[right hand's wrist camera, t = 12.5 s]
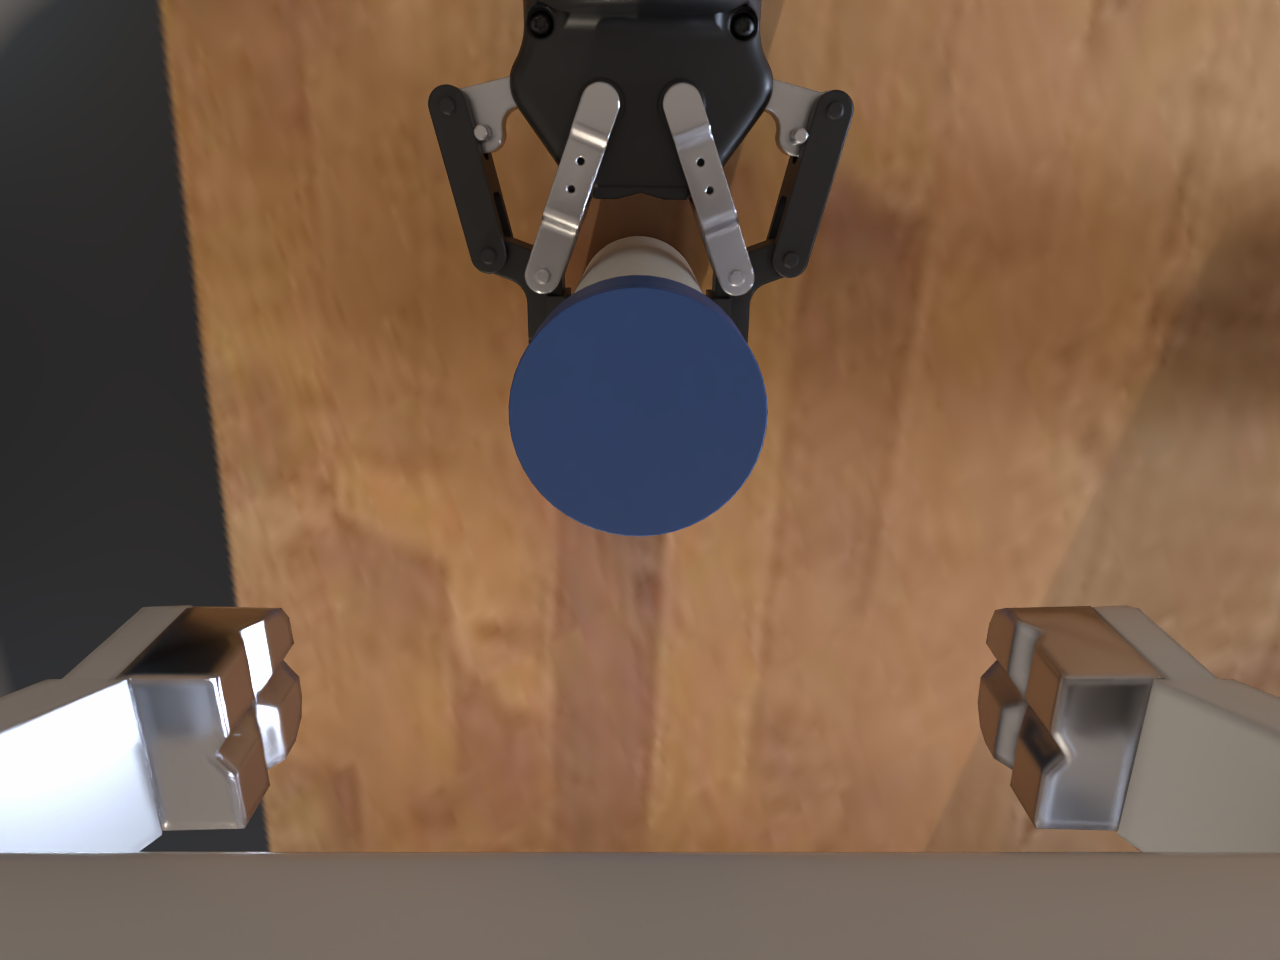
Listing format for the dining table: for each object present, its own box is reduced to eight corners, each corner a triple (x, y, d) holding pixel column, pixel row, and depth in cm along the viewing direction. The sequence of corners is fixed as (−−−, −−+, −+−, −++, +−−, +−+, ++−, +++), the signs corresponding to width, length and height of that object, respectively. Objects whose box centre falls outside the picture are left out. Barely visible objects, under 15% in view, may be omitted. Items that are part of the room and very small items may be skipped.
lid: (654, 221, 20) (655, 228, 18) (802, 409, 22) (819, 434, 20) (471, 379, 22) (453, 402, 20) (624, 545, 23) (622, 582, 21)
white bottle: (646, 210, 36) (652, 256, 19) (721, 304, 37) (789, 426, 20) (555, 289, 37) (484, 398, 20) (631, 378, 38) (625, 551, 21)
